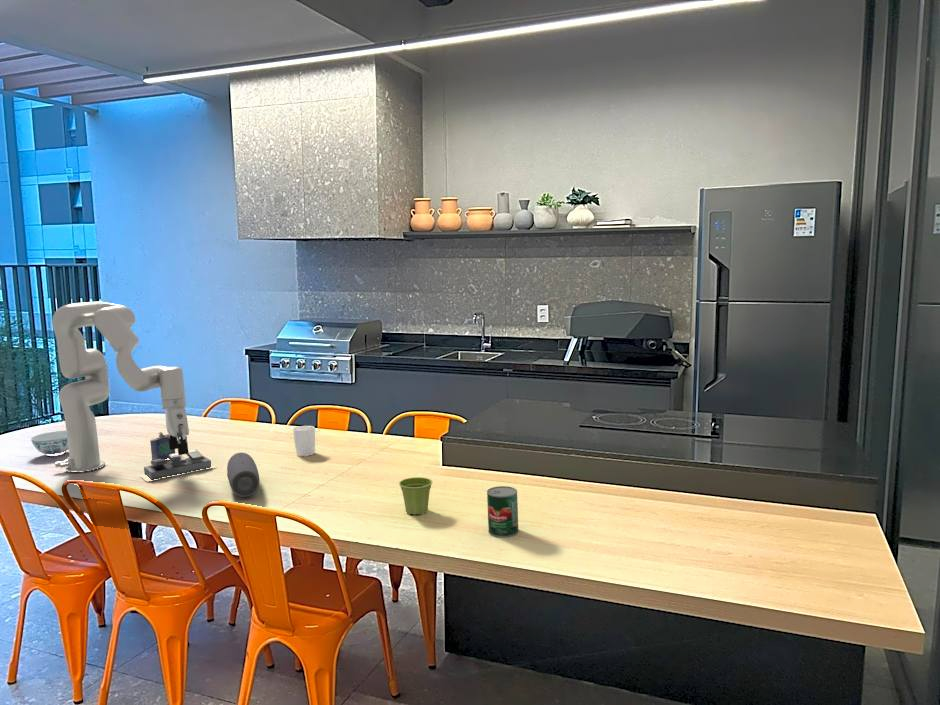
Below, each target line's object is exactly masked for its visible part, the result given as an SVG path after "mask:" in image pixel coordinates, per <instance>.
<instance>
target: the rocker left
mask: <svg viewBox="0 0 940 705" xmlns="http://www.w3.org/2000/svg"><path fill="white" fill-rule="evenodd" d="M168 462H169V461H168V460H165V459H158V460H153V461H152V460H151V461H150V464H151V465H156V466H157V465H162V464H167V463H168ZM151 465H150V466H151Z"/></svg>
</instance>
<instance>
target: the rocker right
mask: <svg viewBox="0 0 940 705" xmlns="http://www.w3.org/2000/svg"><path fill="white" fill-rule="evenodd" d="M186 456H187V458H190V459H191V460H192V461H197V460H202V459H203V456H204V455H203V454H202V453H201V452H200V451H199V450H198V449H191V450H188V454H186Z"/></svg>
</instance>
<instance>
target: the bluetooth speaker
mask: <svg viewBox="0 0 940 705" xmlns="http://www.w3.org/2000/svg"><path fill="white" fill-rule="evenodd" d="M226 466H227V467H226V470H227V471H226V476H227V481H228V483H229V487H230V489H231V491H232V492H233V493H234V494H235V495H236V496H237V497H240V498H246V497H250V496H253V495H254V494H255V493H257V491H258V489H259V487H260V474H259V470H258V467H257V464H256V462H255V460H254V459H253V457H252V456H251V455H250V454H248V453H247V452H237V453H234V454H233V455H232V456H231V457H230V458H229V459H228V461H227V465H226Z"/></svg>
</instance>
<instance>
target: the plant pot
mask: <svg viewBox="0 0 940 705" xmlns="http://www.w3.org/2000/svg"><path fill="white" fill-rule="evenodd" d="M398 485H399V487H400V489H401V491H402V497H403V500H404V502H403V503H404V509H405V512H407V513H406V514H407V515H410V514H413V515H412V516H414V515H419V514H421V515H424V514H427V512H428V510H429V500H430V499H429V498H430V491H431V488H432V485H433V480H432V479H431V478H427V477H419V476H418V477H417V476H416V477H408V478H404V479H402V480H400V481H399V482H398ZM423 513H424V514H423Z"/></svg>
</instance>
